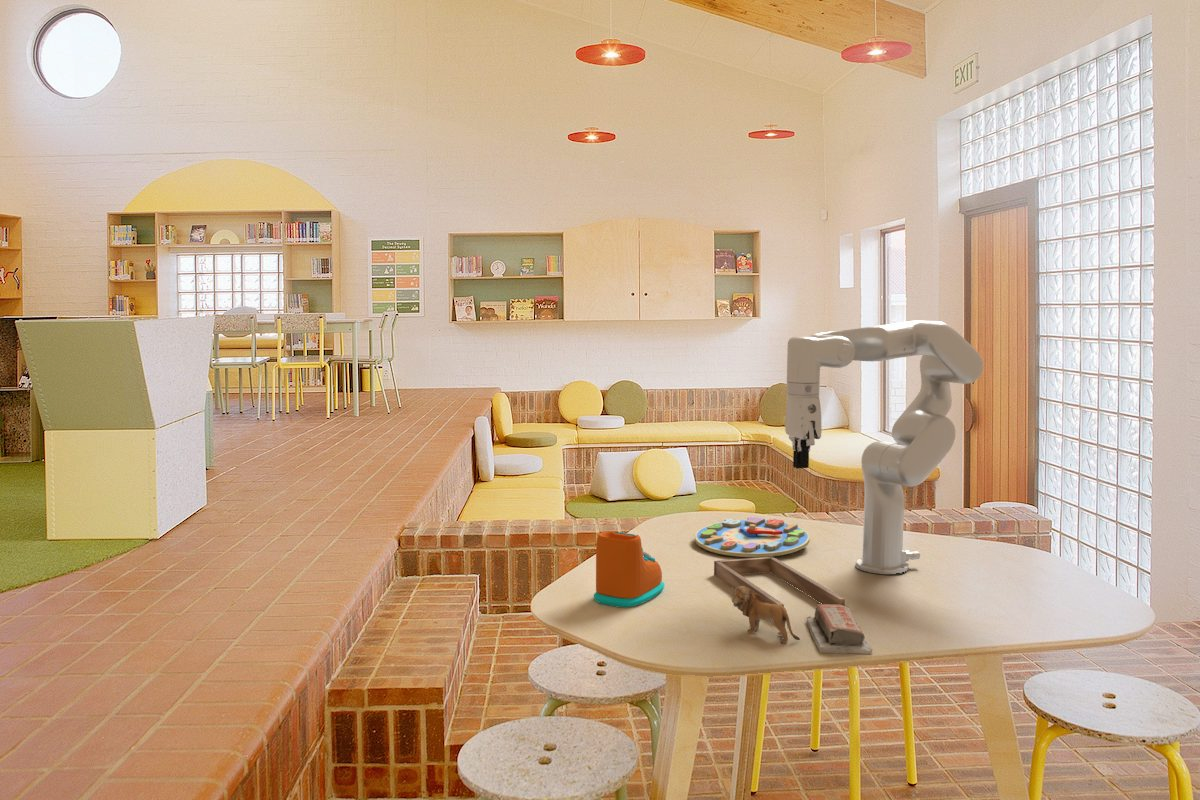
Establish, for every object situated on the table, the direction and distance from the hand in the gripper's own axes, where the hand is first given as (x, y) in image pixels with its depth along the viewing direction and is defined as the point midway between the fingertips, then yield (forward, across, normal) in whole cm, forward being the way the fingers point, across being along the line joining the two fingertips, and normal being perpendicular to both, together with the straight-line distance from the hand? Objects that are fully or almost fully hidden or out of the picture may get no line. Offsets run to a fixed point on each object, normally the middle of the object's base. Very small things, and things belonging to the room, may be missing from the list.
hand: (800, 467), depth 233 cm
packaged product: (+28, -38, +10) cm, 48 cm away
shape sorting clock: (+28, +33, -3) cm, 43 cm away
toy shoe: (+28, -1, +42) cm, 50 cm away
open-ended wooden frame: (+27, -8, +10) cm, 30 cm away
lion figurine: (+27, -32, +24) cm, 49 cm away
